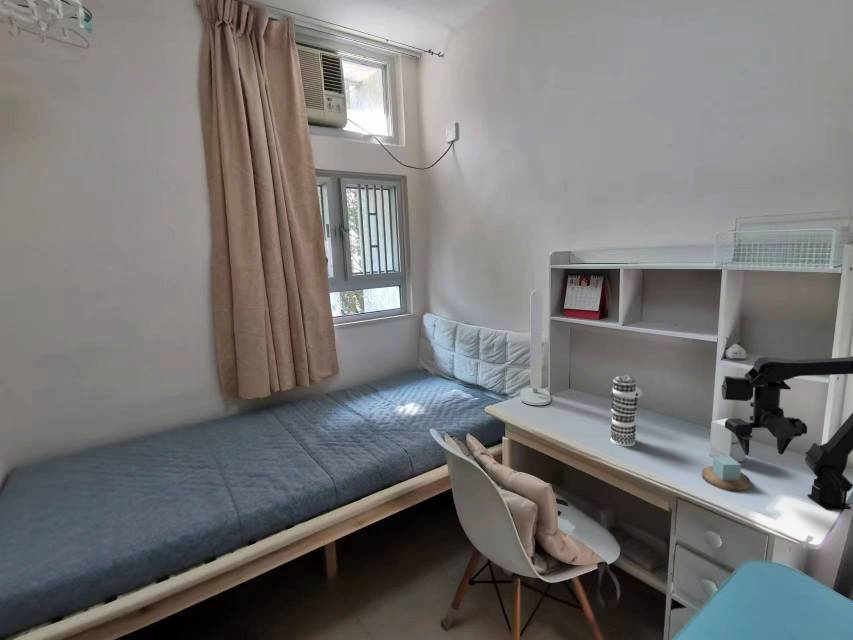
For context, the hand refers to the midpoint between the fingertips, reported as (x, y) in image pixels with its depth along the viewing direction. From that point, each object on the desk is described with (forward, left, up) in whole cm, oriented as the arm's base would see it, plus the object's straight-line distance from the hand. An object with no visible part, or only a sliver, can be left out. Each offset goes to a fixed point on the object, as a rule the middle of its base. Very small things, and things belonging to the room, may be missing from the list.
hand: (763, 454), depth 121 cm
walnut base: (+6, -7, -12) cm, 15 cm away
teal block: (+6, -6, -10) cm, 13 cm away
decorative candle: (+26, -35, -12) cm, 45 cm away
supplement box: (-3, -21, -12) cm, 24 cm away
